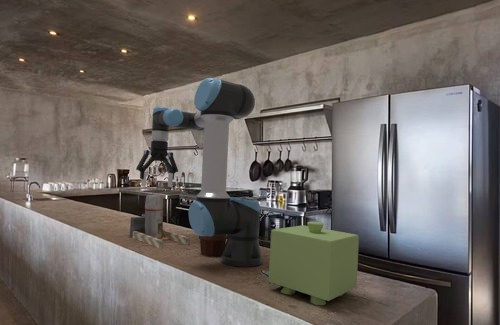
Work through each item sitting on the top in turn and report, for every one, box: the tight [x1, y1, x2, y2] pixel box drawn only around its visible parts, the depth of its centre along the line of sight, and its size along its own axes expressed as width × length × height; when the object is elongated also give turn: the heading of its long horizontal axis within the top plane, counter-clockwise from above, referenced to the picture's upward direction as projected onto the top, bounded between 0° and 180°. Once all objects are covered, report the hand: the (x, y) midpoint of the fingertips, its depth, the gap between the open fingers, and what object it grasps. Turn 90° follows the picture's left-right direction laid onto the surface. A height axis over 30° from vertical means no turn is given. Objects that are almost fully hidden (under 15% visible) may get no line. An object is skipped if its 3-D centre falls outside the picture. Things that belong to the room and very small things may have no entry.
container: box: [268, 220, 360, 306], centre depth 97 cm, size 19×16×20 cm
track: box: [129, 216, 190, 249], centre depth 154 cm, size 27×14×9 cm, turn 44°
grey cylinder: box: [144, 193, 164, 238], centre depth 157 cm, size 8×8×20 cm
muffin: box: [198, 234, 227, 257], centre depth 135 cm, size 12×11×10 cm
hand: (157, 186), depth 158 cm, fingers open, 13 cm apart
